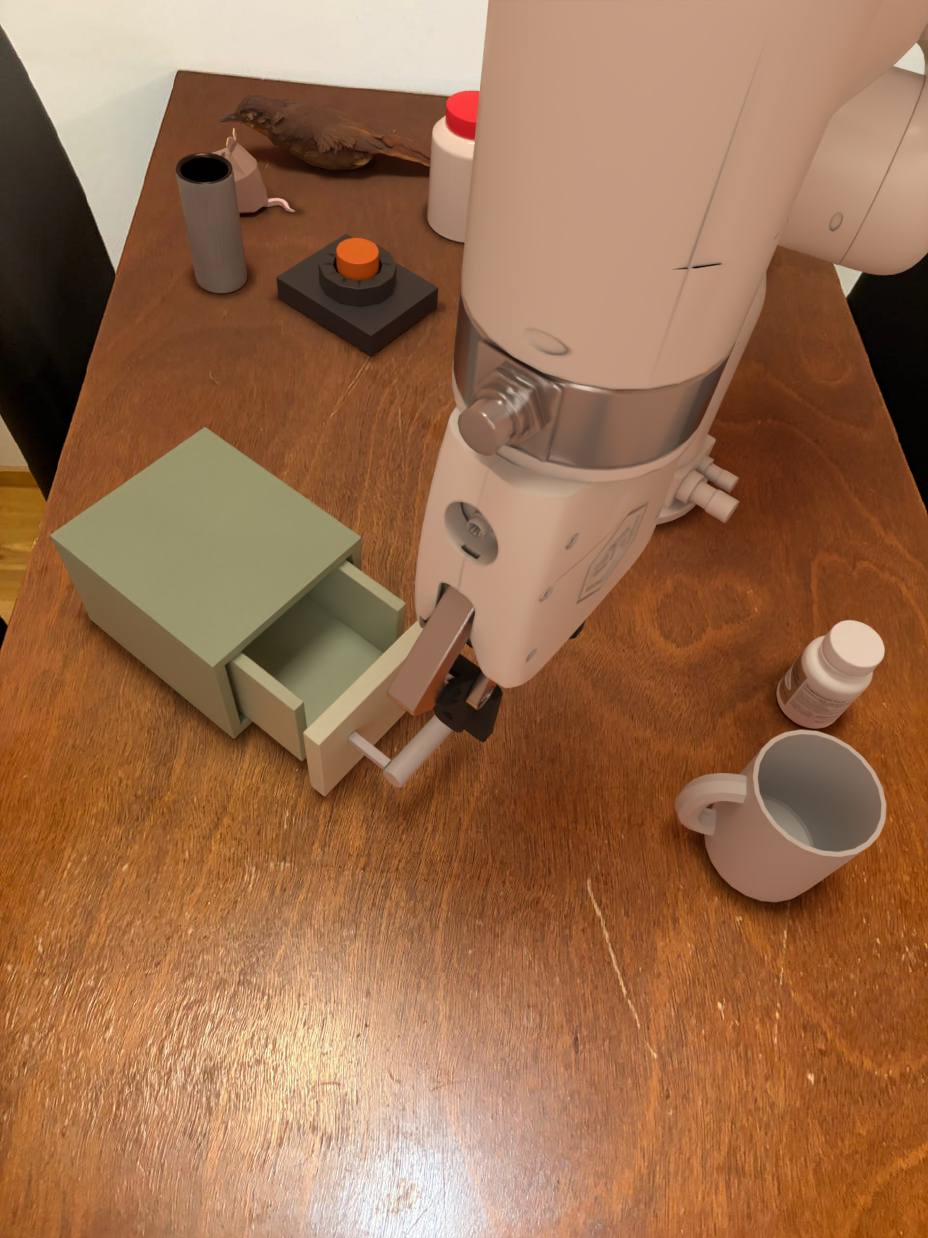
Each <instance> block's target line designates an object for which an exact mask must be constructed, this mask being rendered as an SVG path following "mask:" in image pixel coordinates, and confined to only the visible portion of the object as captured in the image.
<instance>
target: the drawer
mask: <svg viewBox="0 0 928 1238" xmlns="http://www.w3.org/2000/svg"><path fill="white" fill-rule="evenodd" d="M406 611H407V603H406V602H405V601H404V600H402V599H401V598H399V597H398V596H397V595H395V594H394V593H393V592H391V591H390V590H389V589H387V588H386V587H384V586H383V585H381V584H380V583H379V582H378V581H376V580H375V579H373V578H372V577H370V576H369V575H368V574H367V573H365V572H364V571H363V570H362V571H361V570H359V569H358V568H356V567H355V566H354V565H352V564H351V563H349V562H348V561H347V560H344V561H343V562H342V563H341V564H339V565H338V566H337V567H336V568H335V569H334V570H333V571H331V572H330V573H329V574H328V575H327V576H326V577H325V578H324V579H322V580H321V581H320V582H319V583H318V584H317V585H316V586H314V587H313V588H312V589H311V590H310V591H309V592H308V593H306V594H305V595H304V596H303V597H302V598H301V599H300V600H298V601H297V602H296V603H295V604H294V605H293V606H292V607H291V608H289V609H288V610H287V611H286V612H285V613H284V614H283V615H281V616H280V617H279V618H278V619H277V620H276V621H275V622H273V623H272V624H271V625H270V626H269V627H268V628H267V629H265V630H264V631H263V632H262V633H261V634H260V635H259V636H258V637H256V638H255V639H254V640H253V641H252V642H251V643H250V644H248V645H247V646H246V647H245V648H244V649H243V650H242V651H240V652H239V653H238V654H237V655H236V656H235V657H234V658H232V659H231V660H230V661H229V662H228V663H227V664H226V665H225V668H226V672H227V675H228V679H229V683H230V686H231V690H232V694H233V697H234V701H235V705H236V708H237V709H238V710H240V711H241V712H242V713H243V714H244V715H246V716H247V717H248V718H249V719H251V720H252V721H253V722H252V723H254V724H255V725H256V726H258V728H260V729H261V730H263V731H264V732H265V733H266V734H267V735H268V736H270V737H271V738H272V739H274V740H275V741H276V742H277V743H279V744H280V745H281V746H282V747H283V748H285V749H286V750H287V751H288V752H290V753H291V754H292V755H293V756H294V757H296V758H297V760H299V761H301V762H303V761H304V760H305V759H306V764H307V769H308V770H307V771H308V777H309V784H310V786H311V787H312V788H313V789H315V790H316V791H317V792H318V794H321V796H323V797H326V796H327V795H328V794H329V793H330V792H331V791H332V790H333V789H334V788H335V787H336V786H337V785H338V784H339V782H341V781H342V780H343V778H344V777H345V776H346V775H348V773H349V772H350V771H351V770H352V769H353V768H354V767H355V766H356V765H357V764H358V762H359V761H361V760H362V759H363V757H364V756H365V757H366V758H367V759H369V760H370V761H371V762H372V763H373V764H375V765H376V766H377V767H378V768H380V769H381V770H382V774H383V777H384V778H385V779H386V781H388V782H389V783H390V784H391V785H392V786H394V787H395V788H398V789H401V788H403V787H404V786H405V785H406V783H407V782H408V781H409V780H411V778H412V777H413V776H414V774H416V772H417V771H419V769H420V768H421V767H423V765H424V764H425V763H426V761H427V760H428V759H429V758H430V757H431V756H432V755H433V754H434V753H435V751H436V750H437V749H438V748H439V747H440V746H441V745H442V743H444V741H445V740H446V739H447V738H448V737H449V736H450V735H451V734H452V733H453V732H454V731H453V730H451V729H450V728H449V727H447V726H446V725H445V724H443V723H442V722H441V721H440V720H439V719H438V718H437V717H436V715H435V714H434V715H433V716H432V717H431V718H430V719H429V720H428V721H427V722H426V724H425V725H423V727H422V728H421V729H420V730H419V731H418V732H417V733H416V734H415V735H414V736H413V737H412V739H411V740H410V741H409V742H408V743H407V744H406V745H405V746H404V748H402V750H400V752H398V754H397V755H396V756H395V757H393V759H391V758H390V757H388V756H387V755H386V754H385V753H383V752H382V751H381V750H379V749H378V748H377V747H375V745H376V744H377V743H378V742H379V741H380V739H381V738H383V737H384V735H385V734H386V733H387V732H388V731H389V730H390V729H391V728H392V727H393V726H394V725H395V724H396V722H398V721H399V720H400V719H401V717H403V716H404V715H405V714H406V712H407V711H406V710H405V709H403V708H402V707H401V706H399V705H398V704H397V703H395V702H394V701H393V700H391V699H390V698H389V697H388V696H387V695H386V694H387V690H388V688H389V686H390V684H391V683H392V681H393V679H394V678H395V676H396V674H397V672H398V671H399V669H400V667H401V666H402V664H403V662H404V661H405V659H406V657H407V655H408V654H409V652H410V650H411V649H412V647H413V645H414V644H415V642H416V640H417V638H418V637H419V635H420V633H421V632H422V630H423V628H421V627H420V626H419V623H418V620H417V619H416V620H415V622H414V623H413V624H412V625H411V626H410V627H409V628H407V630H406V629H405V628H406V627H405V626H406Z"/></svg>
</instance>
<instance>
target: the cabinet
mask: <svg viewBox="0 0 928 1238" xmlns="http://www.w3.org/2000/svg"><path fill="white" fill-rule="evenodd" d="M49 537H50V539H51V541H52V543H53V545H54V547H55V550H56V551H57V553H58V555H59V557H60V559H61V561H62V564H63V565H64V567H65V569H66V571H67V574H68V576H69V579H70V580H71V582H72V584H73V586H74V588H75V590H76V592H77V594H78V597H79V598H80V600H81V602H82V605H83V606H84V609H85V611H86V613H87V615H88V618H89V620H90V621H91V622H93V623H94V624H95V625H96V626H98V627H99V628H100V629H101V630H103V632H104V633H106V634H107V635H108V636H109V637H110V638H112V639H113V640H114V641H116V643H118V644H119V645H120V646H121V647H122V648H124V649H125V650H126V651H127V652H128V653H130V654H131V655H132V656H133V657H134V658H135V659H137V660H138V661H139V662H140V663H142V664H143V665H144V666H145V667H146V668H148V669H149V670H150V671H151V672H152V673H154V674H155V676H157V677H159V679H161V680H162V681H163V682H164V683H166V684H167V685H168V686H169V687H171V688H172V689H173V690H174V691H175V692H176V693H178V694H179V695H180V696H181V697H183V698H184V699H185V700H186V701H187V702H188V703H190V704H191V705H192V706H193V707H195V708H196V709H197V710H198V711H200V713H202V714H203V715H204V716H205V717H206V718H207V719H209V720H210V721H211V722H213V723H214V724H215V725H216V726H217V727H218V728H220V729H221V730H222V731H223V732H225V733H226V734H227V735H228V736H229V737H230V738H232V739H233V740H234V739H236V738H237V737H238V736H240V734H241V733H243V732H244V730H246V729H247V728H248V727H249V726H250V725H251V724H252V723H254V722H253V721H252V720H251V719H249V718H248V717H247V716H246V715H244V714H243V713H242V712H241V711H240V710H238V709H237V708H236V705H235V701H234V697H233V694H232V690H231V686H230V683H229V679H228V675H227V672H226V668H225V665H226V664H227V663H228V662H229V661H230V660H231V659H232V658H234V657H235V656H236V655H237V654H238V653H239V652H240V651H242V650H243V649H244V648H245V647H246V646H247V645H248V644H250V643H251V642H252V641H253V640H254V639H255V638H256V637H258V636H259V635H260V634H261V633H262V632H263V631H264V630H265V629H267V628H268V627H269V626H270V625H271V624H272V623H273V622H275V621H276V620H277V619H278V618H279V617H280V616H281V615H283V614H284V613H285V612H286V611H287V610H288V609H289V608H291V607H292V606H293V605H294V604H295V603H296V602H297V601H298V600H300V599H301V598H302V597H303V596H304V595H305V594H306V593H308V592H309V591H310V590H311V589H312V588H313V587H314V586H316V585H317V584H318V583H319V582H320V581H321V580H322V579H324V578H325V577H326V576H327V575H328V574H329V573H330V572H331V571H333V570H334V569H335V568H336V567H337V566H338V565H339V564H341V563H342V562H343V561H344V560H347V561H348V562H349V563H351V564H352V565H354V566H355V567H356V568H358V569H359V570H361V571H362V572H363V565H362V564H363V561H362V560H363V558H362V557H363V555H362V543H363V541H362V540H363V539H362V536H360V535H359V534H358V533H356V532H355V531H354V530H352V529H351V528H349V527H348V526H347V525H345V524H343V522H341V521H339V520H338V519H337V518H335V517H334V516H332V515H331V514H330V513H328V512H327V511H326V510H324V509H322V508H321V507H320V506H318V505H316V503H314V502H312V501H311V500H309V499H308V498H307V497H305V496H304V495H302V494H301V493H300V492H298V491H297V490H296V489H294V488H292V487H291V486H290V485H288V484H287V483H286V482H284V481H283V480H281V479H279V477H277V476H276V475H274V474H273V473H271V472H270V471H269V470H267V469H266V468H264V467H263V466H262V465H260V464H258V463H257V462H256V461H254V460H253V459H251V458H250V457H249V456H248V455H246V454H244V453H243V452H242V451H240V450H238V449H237V448H236V447H234V446H233V445H232V444H230V443H229V442H227V441H226V440H224V439H223V438H222V437H220V436H219V435H218V434H216V433H214V432H213V431H212V430H210V429H209V428H208V427H206V426H203V427H202V428H201V429H199V430H198V431H196V432H194V434H192V435H191V436H190V437H188V438H187V439H185V440H183V442H181V443H180V444H178V445H177V446H175V447H174V448H172V449H171V450H169V451H168V452H166V453H165V454H163V455H162V456H160V457H159V458H158V459H157V460H155V461H153V462H152V463H151V464H149V465H148V466H147V467H145V468H144V469H142V470H141V471H139V472H138V473H136V474H135V475H133V476H131V478H129V479H128V480H126V481H125V482H123V483H122V484H121V485H119V486H118V487H117V488H116V487H115V489H114V490H112V491H111V492H109V493H108V494H106V495H105V496H104V497H102V498H100V499H99V500H98V501H97V502H95V503H93V504H92V505H90V506H89V507H87V508H86V509H84V510H83V511H82V512H81V513H80V514H78V515H76V516H74V517H73V518H72V519H70V520H69V521H68V522H66V523H65V524H63V525H62V526H60V527H58V528H57V529H56V530H54V531H53V532H52V533H51V534H49Z"/></svg>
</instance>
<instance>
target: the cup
mask: <svg viewBox="0 0 928 1238" xmlns="http://www.w3.org/2000/svg"><path fill="white" fill-rule="evenodd" d="M712 804H713V805H712ZM710 805H712V807H711V808H708V806H710ZM674 810H675V813H676V815H677V817H678V820H679V822H680V824H681V825H683V826H684V827H685V828H687V829H689V830H691V831H693V832H695V833H698V834H702V835H704V836H703V837H704V844H705V849H706V852H707V854H708V857H709V861H710V862H711V864H712V865H713V867H714V868H715V870H716V872H717V873H718V874H719V876H720V877H721V878H722V879H723V880H724V881H725V882H726V883H727V884H728V885H729V886H730V887H731V888H733V889H734V890H736V891H738V892H739V893H741V894H742V895H744V896H746V897H747V898H748V897H749V898H752V899H754V900H757V901H759V902H770V903H779V902H784V901H785V902H786V901H789V900H792V899H795V898H796V897H798V896H799V895H802V894H803V893H805V892H807V891H809V890H810V889H811V888H813V887H814V886H816V885H817V884H819V883H820V882H821V881H823V880H824V879H826V878H827V877H828V876H830V875H831V874H833V873H834V872H835V871H837V870H838V869H840V868H841V867H842V866H844V865H846V864H847V863H848V862H850V861H851V860H852V859H854V858H855V857H857V856H858V855H860V854H861V853H862V852H864V851H865V850H867V849H868V848H870V847H871V846H872V845H873V843H874V842H875V841H876V840H877V839H878V838H879V836H880V835H881V833H882V831H883V828H884V826H885V823H886V821H887V820H886V818H887V801H886V797H885V792H884V788H883V785H882V784H881V780H880V779H879V777H878V775H877V773H876V771H875V770H874V769H873V767H872V766H871V765H870V764H869V762H868V761H867V760H866V759H865V757H863V755H861V754H860V752H858V751H857V750H856V749H855V748H853V747H852V746H851V745H850V744H849V743H846V742H845V741H842V740H841V739H839V738H837V737H836V736H834V735H832V734H831V735H830V734H828V733H824V732H821V731H819V730H810V729H796V730H790V731H785V732H783V733H781V734H778V735H777V736H774V737H772V738H771V739H770V740H769V741H768V742H767V743H766V744H764V745H763V747H762V748H761V749H760V750H759V751H758V752H757V753H756V754H755V755H754V757H752V759H751V760H750V761H749V762H748V763H747V765H746V766H745V767H744V768H743V769H742V770H741V772H740V773H739V774H738V773H729V772H728V773H727V772H719V773H718V772H717V773H708V774H703V775H701V776H699V777H696V778H693V779H692V780H690V781H689V782H687V783H686V784H685V785H684V786H683V788H682V789H681V790H680V791H679V794H678V795H677V797H676V799H675V803H674Z"/></svg>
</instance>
